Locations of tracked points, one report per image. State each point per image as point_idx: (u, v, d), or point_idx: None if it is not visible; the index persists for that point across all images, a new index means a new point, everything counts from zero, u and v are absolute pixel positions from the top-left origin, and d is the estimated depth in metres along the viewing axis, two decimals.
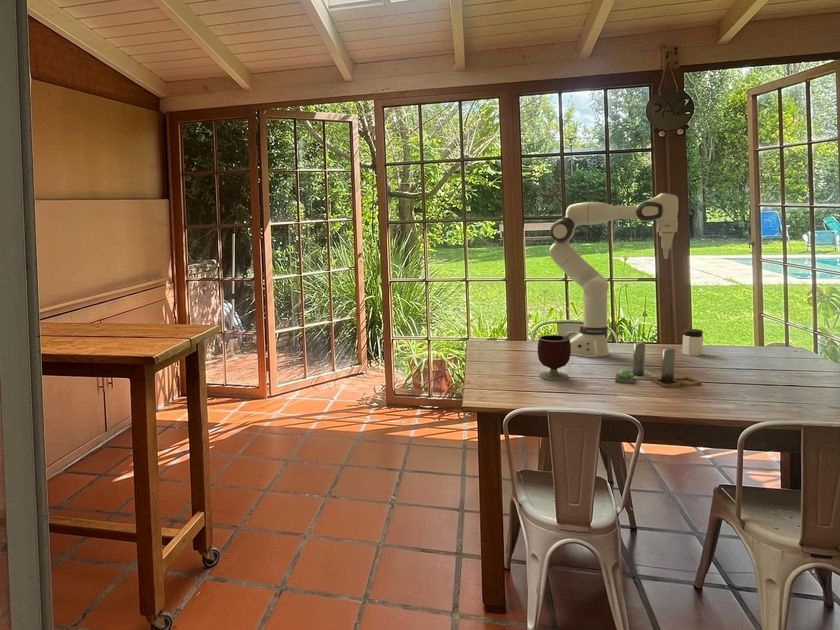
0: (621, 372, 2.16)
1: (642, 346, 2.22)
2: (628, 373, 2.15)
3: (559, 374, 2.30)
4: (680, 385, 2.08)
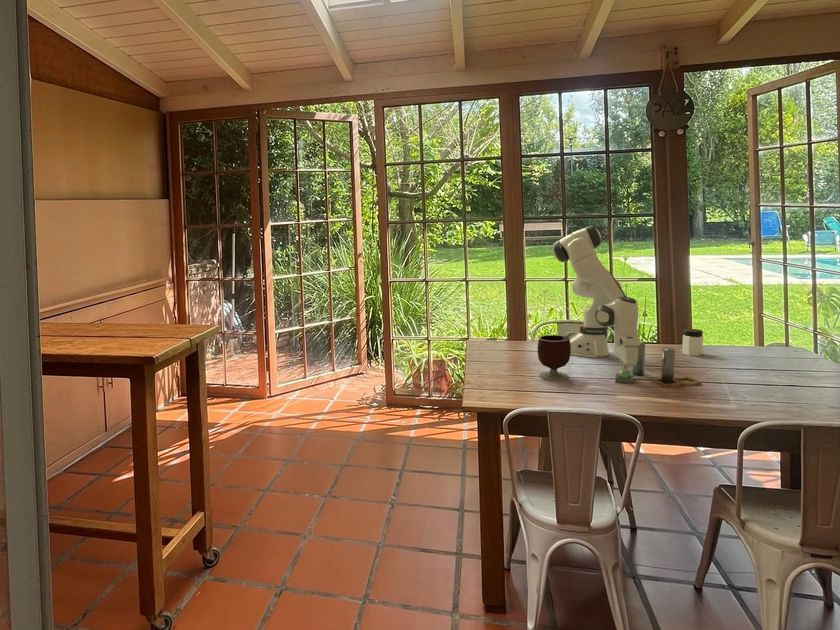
0: (621, 372, 2.16)
1: (642, 346, 2.22)
2: (628, 373, 2.15)
3: (559, 374, 2.30)
4: (680, 385, 2.08)
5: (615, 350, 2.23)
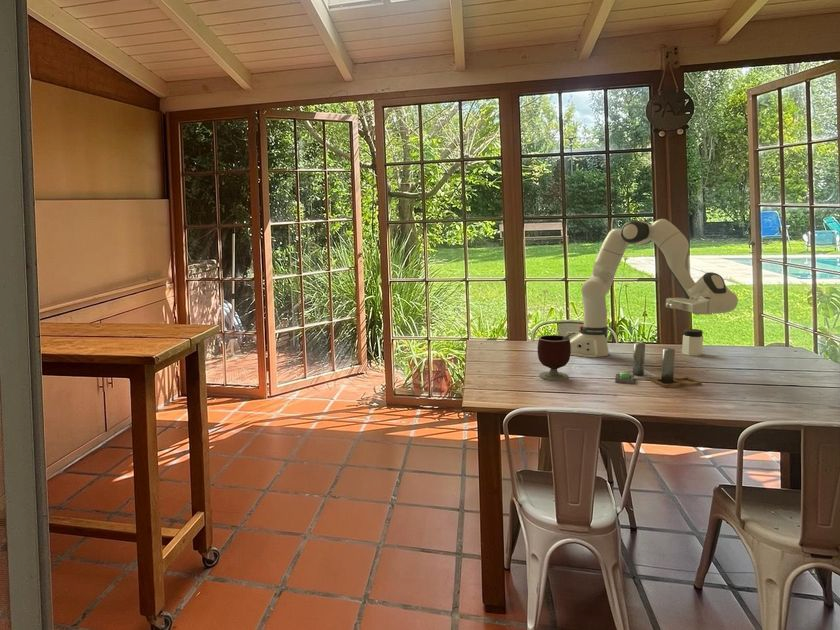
0: (621, 375, 2.16)
1: (642, 346, 2.22)
2: (628, 376, 2.15)
3: (559, 374, 2.30)
4: (680, 385, 2.08)
5: (673, 298, 2.30)
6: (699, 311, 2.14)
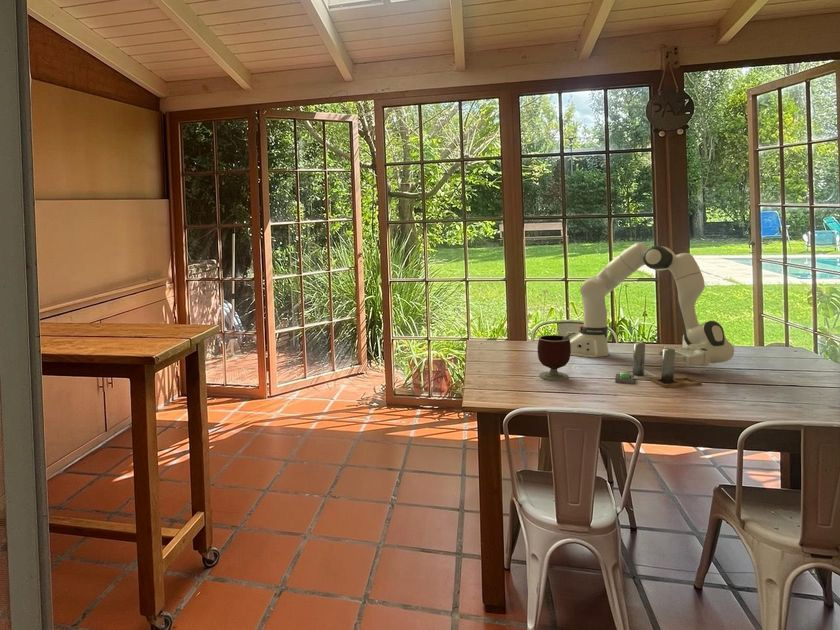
0: (621, 375, 2.16)
1: (642, 346, 2.22)
2: (628, 376, 2.15)
3: (559, 374, 2.30)
4: (680, 385, 2.08)
5: (670, 347, 2.34)
6: (695, 363, 2.17)
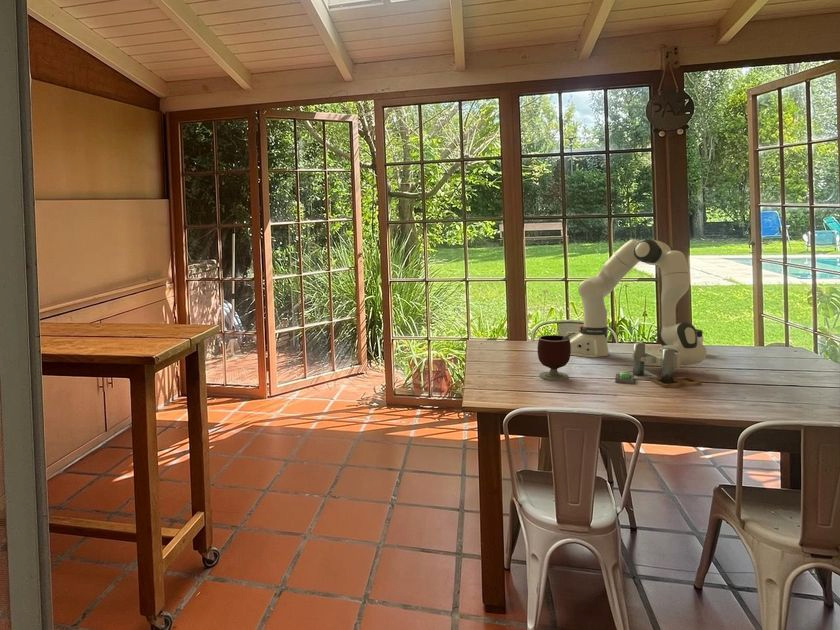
0: (621, 375, 2.16)
1: (642, 346, 2.22)
2: (628, 376, 2.15)
3: (559, 374, 2.30)
4: (680, 385, 2.08)
5: None
6: None
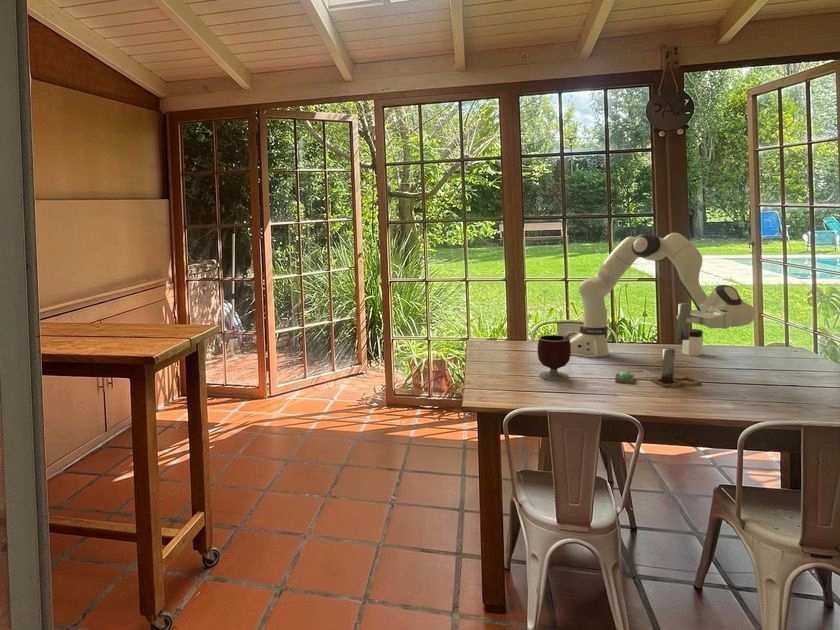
0: (621, 375, 2.16)
1: (688, 306, 2.07)
2: (628, 376, 2.15)
3: (559, 374, 2.30)
4: (680, 385, 2.08)
5: None
6: (715, 325, 2.01)
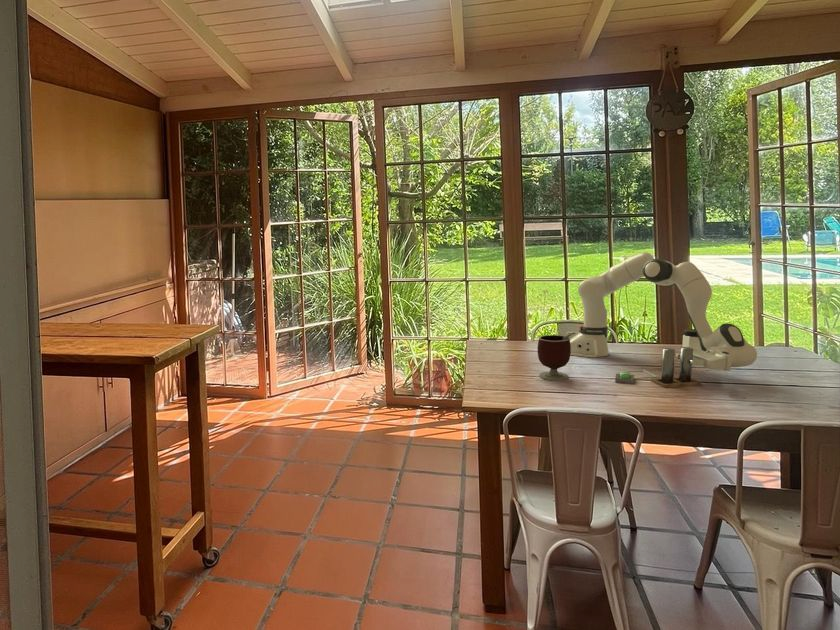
0: (621, 375, 2.16)
1: (690, 351, 2.08)
2: (628, 376, 2.15)
3: (559, 374, 2.30)
4: (680, 385, 2.08)
5: None
6: (717, 368, 2.02)
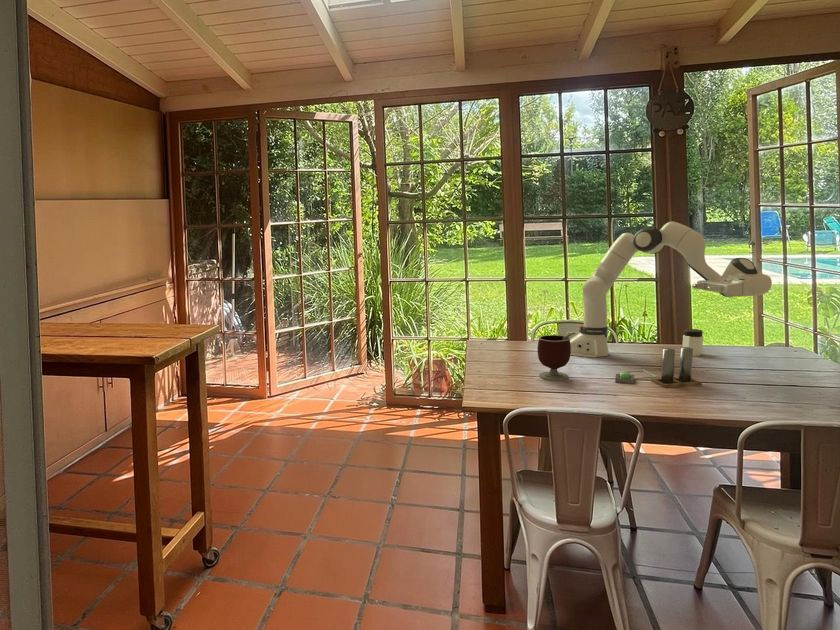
0: (621, 375, 2.16)
1: (690, 351, 2.08)
2: (628, 376, 2.15)
3: (559, 374, 2.30)
4: (680, 385, 2.08)
5: (705, 280, 2.25)
6: (734, 292, 2.08)
